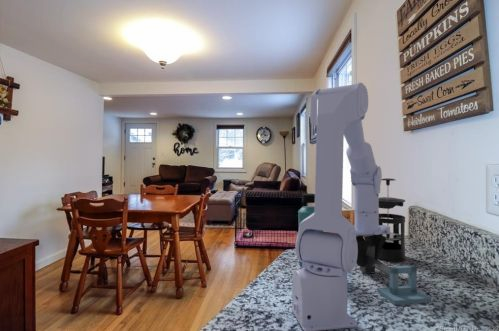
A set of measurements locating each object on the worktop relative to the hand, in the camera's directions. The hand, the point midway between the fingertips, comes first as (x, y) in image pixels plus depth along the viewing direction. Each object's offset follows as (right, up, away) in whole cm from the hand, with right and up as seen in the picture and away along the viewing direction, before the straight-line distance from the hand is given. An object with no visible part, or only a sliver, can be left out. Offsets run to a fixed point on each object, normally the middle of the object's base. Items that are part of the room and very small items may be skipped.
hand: (366, 264), depth 76 cm
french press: (+10, -2, +12) cm, 16 cm away
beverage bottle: (-14, -2, 0) cm, 14 cm away
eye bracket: (+2, -2, -14) cm, 14 cm away
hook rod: (+1, -2, -5) cm, 6 cm away
